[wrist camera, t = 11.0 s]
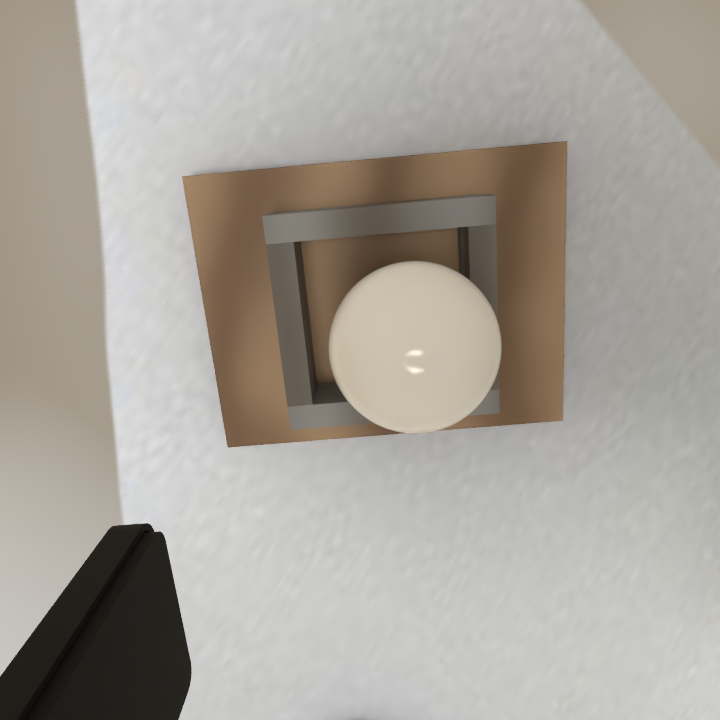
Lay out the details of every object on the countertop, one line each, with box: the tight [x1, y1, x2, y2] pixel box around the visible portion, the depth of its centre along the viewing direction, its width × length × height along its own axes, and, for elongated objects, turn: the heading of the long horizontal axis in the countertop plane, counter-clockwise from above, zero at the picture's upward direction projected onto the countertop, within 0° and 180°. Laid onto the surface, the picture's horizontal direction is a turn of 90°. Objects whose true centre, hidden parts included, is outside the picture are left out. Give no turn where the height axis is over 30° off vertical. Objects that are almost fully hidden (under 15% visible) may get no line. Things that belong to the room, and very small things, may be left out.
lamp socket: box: [182, 141, 567, 447], centre depth 28 cm, size 18×14×4 cm
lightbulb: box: [328, 261, 502, 433], centre depth 24 cm, size 6×6×11 cm
